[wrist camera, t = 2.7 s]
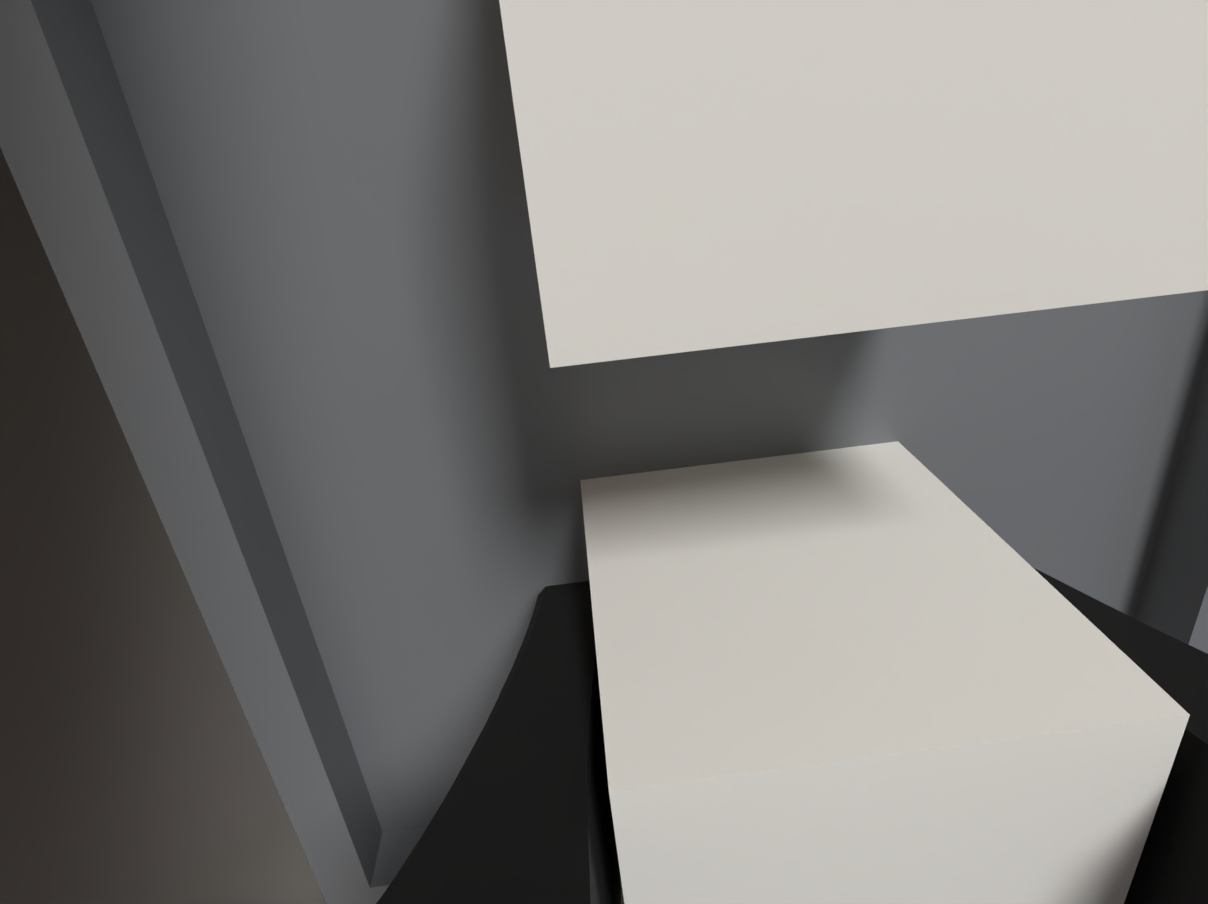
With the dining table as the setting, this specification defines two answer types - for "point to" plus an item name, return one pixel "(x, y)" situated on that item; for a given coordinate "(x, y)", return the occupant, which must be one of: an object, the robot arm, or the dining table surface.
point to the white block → (856, 695)
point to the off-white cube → (852, 163)
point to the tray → (481, 381)
